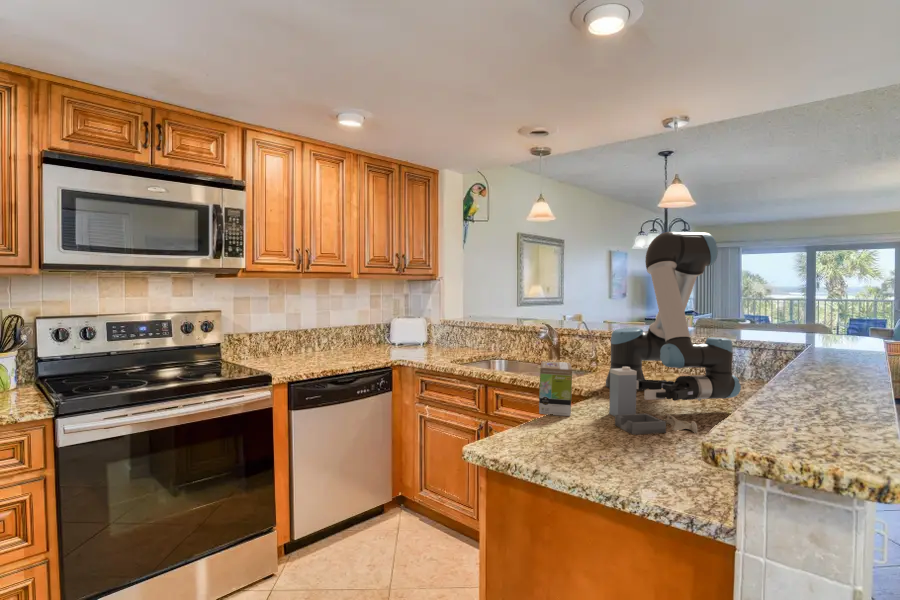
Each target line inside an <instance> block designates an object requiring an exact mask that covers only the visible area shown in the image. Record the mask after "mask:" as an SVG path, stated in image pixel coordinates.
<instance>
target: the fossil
mask: <svg viewBox="0 0 900 600" xmlns="http://www.w3.org/2000/svg"><path fill="white" fill-rule="evenodd" d="M663 415H666V418H664V419H663V421H665V422H666V424H670V425H671V427H670V430H672V431H673V432H674V431H676V432H678V431H677V430H681V431H683V430H690V431H691V432H692V433H693V432H694V433H693V434H698V424H697V423H696V421H694V420H692V421H691V422H689V421H687V420H680V419H677V418H676V417H674V416H673V415H671V414H669V413H667V412H664V413H663Z"/></svg>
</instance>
